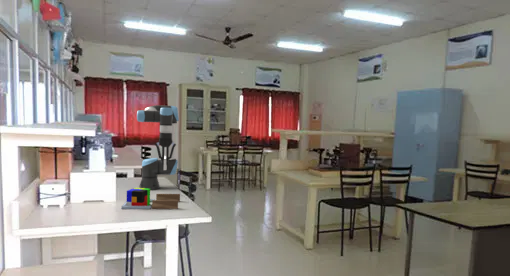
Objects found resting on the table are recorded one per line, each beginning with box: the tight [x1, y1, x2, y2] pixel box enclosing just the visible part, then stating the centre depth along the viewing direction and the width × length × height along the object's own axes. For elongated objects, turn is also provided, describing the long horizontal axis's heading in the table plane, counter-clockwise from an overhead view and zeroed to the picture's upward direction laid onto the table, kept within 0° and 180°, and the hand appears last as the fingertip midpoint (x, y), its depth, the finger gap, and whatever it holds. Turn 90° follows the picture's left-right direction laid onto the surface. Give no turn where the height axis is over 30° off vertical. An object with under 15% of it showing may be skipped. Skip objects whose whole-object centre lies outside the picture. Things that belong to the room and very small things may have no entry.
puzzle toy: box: [126, 187, 151, 206], centre depth 200 cm, size 10×10×10 cm
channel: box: [151, 193, 181, 210], centre depth 204 cm, size 18×15×5 cm
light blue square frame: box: [121, 198, 156, 210], centre depth 202 cm, size 18×17×2 cm
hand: (165, 169), depth 203 cm, fingers closed
